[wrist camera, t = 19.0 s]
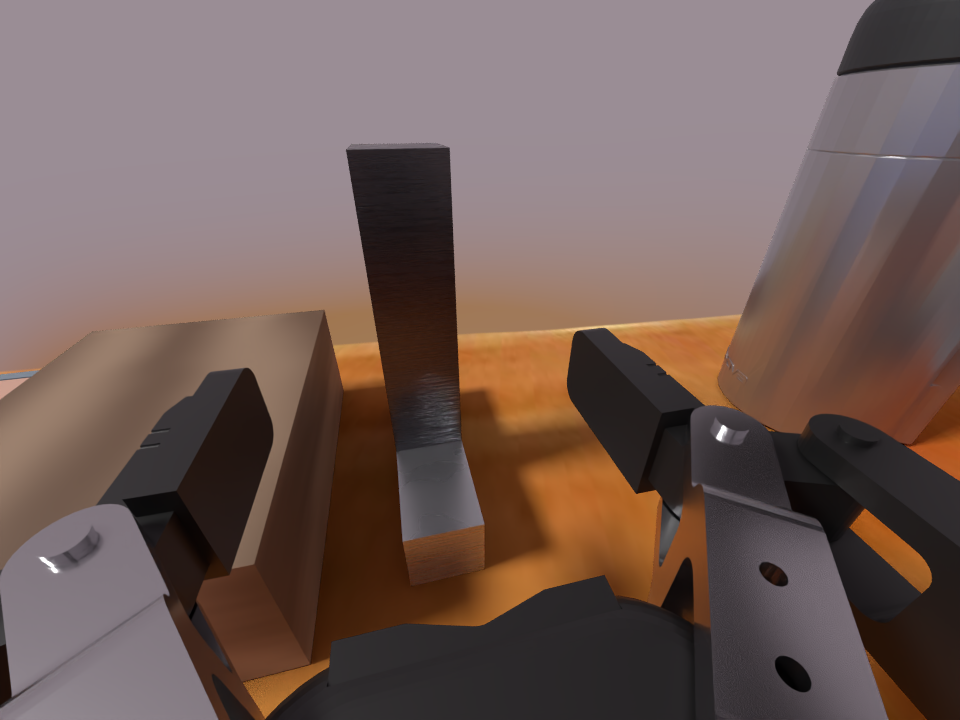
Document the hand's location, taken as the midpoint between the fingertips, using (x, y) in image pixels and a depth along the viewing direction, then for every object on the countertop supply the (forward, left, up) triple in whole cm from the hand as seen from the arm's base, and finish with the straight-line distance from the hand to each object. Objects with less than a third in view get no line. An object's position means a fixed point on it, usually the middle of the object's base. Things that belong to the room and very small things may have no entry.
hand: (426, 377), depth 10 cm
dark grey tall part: (+3, -6, -10) cm, 12 cm away
